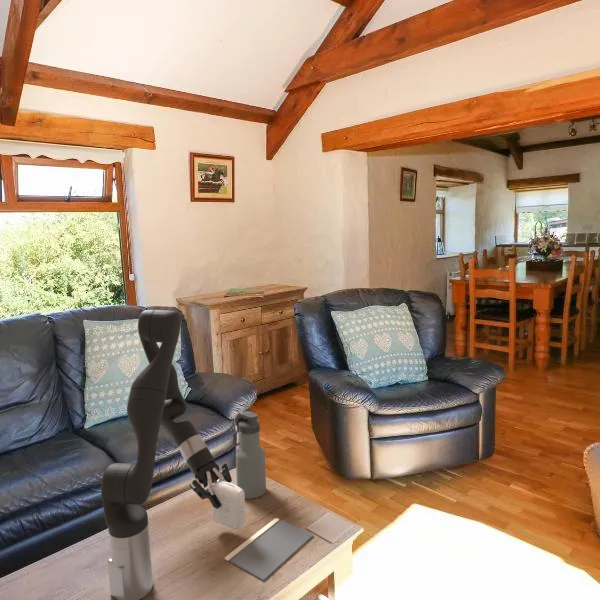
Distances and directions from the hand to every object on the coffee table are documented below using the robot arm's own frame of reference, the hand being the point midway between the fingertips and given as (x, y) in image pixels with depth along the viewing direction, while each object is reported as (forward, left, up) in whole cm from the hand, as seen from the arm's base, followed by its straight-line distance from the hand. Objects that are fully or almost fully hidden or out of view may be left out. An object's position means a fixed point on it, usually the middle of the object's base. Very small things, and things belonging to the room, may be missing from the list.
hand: (225, 503), depth 141 cm
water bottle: (+20, +9, -9) cm, 24 cm away
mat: (+2, -15, -9) cm, 18 cm away
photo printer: (0, -1, -6) cm, 6 cm away
